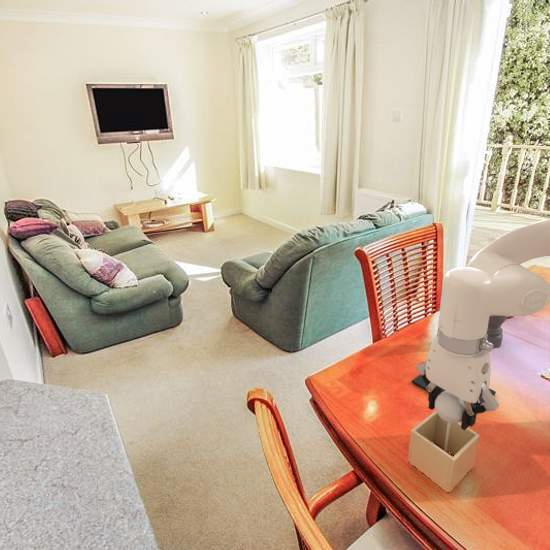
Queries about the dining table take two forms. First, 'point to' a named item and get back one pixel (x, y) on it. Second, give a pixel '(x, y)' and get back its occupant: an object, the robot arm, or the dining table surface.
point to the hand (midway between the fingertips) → (450, 414)
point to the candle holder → (495, 330)
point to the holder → (434, 458)
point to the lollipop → (449, 410)
